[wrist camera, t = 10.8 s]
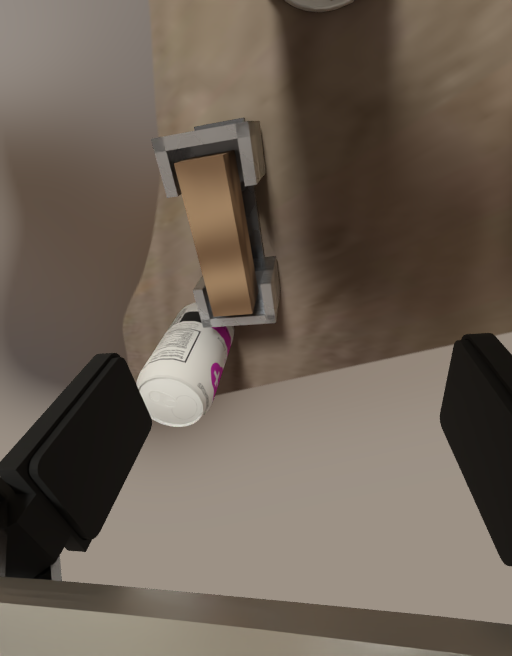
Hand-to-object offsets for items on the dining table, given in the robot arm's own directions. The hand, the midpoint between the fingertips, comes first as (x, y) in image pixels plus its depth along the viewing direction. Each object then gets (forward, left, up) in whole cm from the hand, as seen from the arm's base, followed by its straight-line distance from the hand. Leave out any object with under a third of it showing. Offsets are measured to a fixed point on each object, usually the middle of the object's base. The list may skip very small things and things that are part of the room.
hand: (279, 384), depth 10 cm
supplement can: (+16, -14, -31) cm, 37 cm away
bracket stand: (+2, -7, -30) cm, 31 cm away
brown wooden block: (+2, -7, -25) cm, 26 cm away
